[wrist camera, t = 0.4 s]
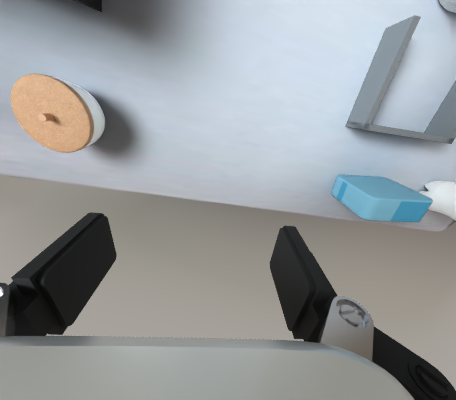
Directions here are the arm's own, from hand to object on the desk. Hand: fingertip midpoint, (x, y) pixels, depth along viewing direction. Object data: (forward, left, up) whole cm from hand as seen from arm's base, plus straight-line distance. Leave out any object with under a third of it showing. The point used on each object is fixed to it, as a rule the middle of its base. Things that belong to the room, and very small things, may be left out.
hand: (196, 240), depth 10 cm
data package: (+5, +34, -31) cm, 46 cm away
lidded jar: (-1, -24, -31) cm, 39 cm away
